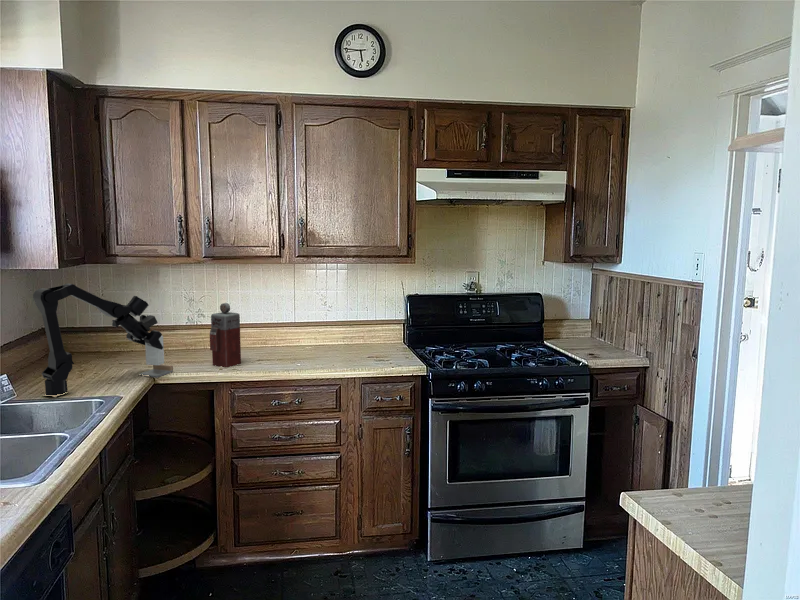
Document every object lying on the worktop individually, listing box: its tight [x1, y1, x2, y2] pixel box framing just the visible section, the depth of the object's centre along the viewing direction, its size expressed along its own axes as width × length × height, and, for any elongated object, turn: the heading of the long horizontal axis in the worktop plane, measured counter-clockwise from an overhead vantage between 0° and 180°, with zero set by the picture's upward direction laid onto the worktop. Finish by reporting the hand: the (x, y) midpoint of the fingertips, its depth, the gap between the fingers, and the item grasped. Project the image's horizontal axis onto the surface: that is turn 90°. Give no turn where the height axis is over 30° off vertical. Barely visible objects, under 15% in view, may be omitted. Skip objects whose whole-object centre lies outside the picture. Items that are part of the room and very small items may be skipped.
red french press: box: [209, 302, 242, 368], centre depth 256 cm, size 9×11×28 cm
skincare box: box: [144, 335, 165, 366], centre depth 240 cm, size 6×4×12 cm
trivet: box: [139, 363, 174, 379], centre depth 242 cm, size 10×9×3 cm
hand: (157, 347), depth 241 cm, fingers closed on skincare box, 7 cm apart
